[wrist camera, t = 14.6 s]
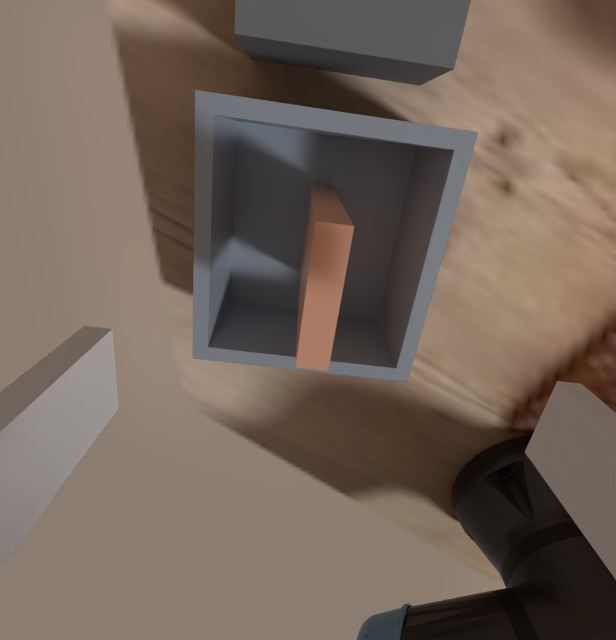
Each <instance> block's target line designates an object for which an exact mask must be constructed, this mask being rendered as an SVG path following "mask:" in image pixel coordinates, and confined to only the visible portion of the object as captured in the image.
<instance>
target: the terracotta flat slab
mask: <svg viewBox="0 0 616 640" xmlns="http://www.w3.org/2000/svg"><path fill="white" fill-rule="evenodd" d="M353 231H354V225H353V223H352V221H351V219H350V218H349V216H348V214H347V212H346V210H345V209H344V207H343V205H342V203H341V202H340V200H339V198H338V196H337V195H336V193H335V191H334V189H333V187H330V186H323V185H315V184H311V190H310V198H309V206H308V214H307V221H306V229H305V237H304V245H303V252H302V260H301V268H300V282H299V303H298V324H297V344H296V365H295V367H296V368H305V369H314V370H323V371H328V370H329V364H330V359H331V353H332V347H333V342H334V336H335V331H336V325H337V320H338V314H339V309H340V303H341V298H342V292H343V286H344V281H345V275H346V270H347V264H348V259H349V253H350V248H351V242H352V237H353Z"/></svg>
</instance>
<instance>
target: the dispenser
mask: <svg viewBox="0 0 616 640" xmlns="http://www.w3.org/2000/svg"><path fill="white" fill-rule="evenodd" d="M470 1H471V0H235V23H234V34H235V36H236V37H237V39H238V40H239V42H240V43H241V45H242V46H243V48H244V49H245V51H246V52H247V54H248V55H249V57H250V58H251V59H254V60H261V61H267V62H274V63H280V64H286V65H293V66H299V67H306V68H312V69H318V70H325V71H331V72H337V73H344V74H350V75H357V76H363V77H369V78H376V79H382V80H389V81H395V82H401V83H408V84H414V85H422V84H424V83H426V82H428V81H430V80H432V79H434V78H436V77H438V76H440V75H442V74H444V73H446V72H448V71H450V70H452V69H454V66H455V62H456V58H457V54H458V50H459V46H460V42H461V38H462V34H463V30H464V26H465V22H466V18H467V13H468V9H469V5H470Z"/></svg>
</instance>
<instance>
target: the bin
mask: <svg viewBox="0 0 616 640" xmlns="http://www.w3.org/2000/svg"><path fill="white" fill-rule="evenodd" d="M477 134H478V132H472V131H466V130H459V129H452V128H446V127H439V126H432V125H426V124H419V123H412V122H406V121H399V120H392V119H386V118H379V117H373V116H366V115H359V114H353V113H346V112H339V111H333V110H326V109H319V108H313V107H306V106H299V105H293V104H286V103H280V102H273V101H266V100H260V99H253V98H246V97H240V96H233V95H226V94H220V93H213V92H207V91H200V90H195V151H194V263H193V358H194V359H203V360H212V361H221V362H230V363H239V364H248V365H257V366H266V367H276V368H285V369H294V370H303V371H312V372H321V373H330V374H339V375H348V376H357V377H366V378H375V379H384V380H393V381H402V382H407V381H408V377H409V374H410V370H411V367H412V363H413V359H414V356H415V352H416V349H417V345H418V342H419V338H420V335H421V331H422V328H423V324H424V321H425V317H426V314H427V310H428V307H429V303H430V300H431V296H432V293H433V289H434V286H435V282H436V278H437V275H438V271H439V268H440V264H441V261H442V257H443V254H444V250H445V247H446V243H447V240H448V236H449V233H450V229H451V226H452V222H453V219H454V215H455V212H456V208H457V204H458V201H459V197H460V194H461V190H462V187H463V183H464V180H465V176H466V173H467V169H468V166H469V162H470V159H471V155H472V152H473V148H474V145H475V141H476V138H477ZM311 184H315V185H323V186H330V187H333V189H334V191H335V193H336V195H337V196H338V198H339V200H340V202H341V203H342V205H343V207H344V209H345V210H346V212H347V214H348V216H349V218H350V219H351V221H352V223H353V225H354V231H353V237H352V242H351V248H350V253H349V259H348V264H347V270H346V275H345V281H344V286H343V292H342V298H341V303H340V309H339V314H338V320H337V325H336V331H335V336H334V342H333V347H332V353H331V359H330V364H329V370H328V371H323V370H314V369H305V368H296V367H295V365H296V344H297V324H298V303H299V282H300V268H301V260H302V252H303V245H304V237H305V229H306V221H307V214H308V206H309V198H310V190H311Z"/></svg>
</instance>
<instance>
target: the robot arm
mask: <svg viewBox="0 0 616 640" xmlns="http://www.w3.org/2000/svg"><path fill="white" fill-rule="evenodd" d="M112 334H113V333H112V329H106V328H98V327H90V326H84V327H83V328H81V329H80V330H79V331H78V332H76V333H75V334H74V335H72V336H71V337H70V338H69V339H67V340H66V341H65V342H64V343H62V344H61V345H60V346H59V347H57V348H56V349H55V350H53V351H52V352H51V353H50V354H48V356H46V357H45V358H43V359H42V360H41V361H39V362H38V363H37V364H36V365H35V366H33V367H32V368H31V369H29V370H28V371H27V372H26V373H24V374H23V375H22V376H21V377H19V378H18V379H17V380H16V381H14V382H13V383H12V384H10V385H9V386H8V387H7V388H5V389H4V390H3V391H2V392H0V570H1V569H2V567H3V566H4V565H5V563H6V562H7V560H8V559H9V558H10V556H11V555H12V554H13V552H14V551H15V550H16V548H17V547H18V545H19V544H20V543H21V541H22V540H23V539H24V537H25V536H26V535H27V533H28V532H29V530H30V529H31V528H32V526H33V525H34V524H35V522H36V521H37V520H38V518H39V516H40V515H41V514H42V513H43V511H44V510H45V508H46V507H47V506H48V504H49V503H50V502H51V500H52V499H53V498H54V496H55V495H56V494H57V492H58V491H59V489H60V488H61V487H62V485H63V484H64V483H65V481H66V480H67V478H68V477H69V476H70V474H71V473H72V472H73V470H74V469H75V468H76V466H77V465H78V463H79V462H80V461H81V459H82V458H83V457H84V455H85V454H86V452H87V451H88V450H89V448H90V447H91V445H92V444H93V443H94V441H95V440H96V439H97V437H98V436H99V435H100V433H101V432H102V431H103V429H104V428H105V426H106V425H107V424H108V422H109V421H110V420H111V418H112V417H113V415H114V414H115V413H116V411H117V410H118V396H117V383H116V371H115V359H114V346H113V335H112ZM452 503H453V507H454V509H455V512H456V514H457V517H458V519H459V522H460V524H461V526H462V528H463V529H464V531H465V532H466V533H467V535H468V536H469V537H470V538H471V539H472V540H473V541H474V542H475V543H476V544H477V545H478V547H479V548H480V549H481V551H482V552H483V553H484V554H485V556H486V557H487V558H488V559H489V561H490V562H491V563H492V564H493V566H494V567H495V568H496V569H497V570H498V572H499V573H500V575H501V577H502V579H503V581H504V583H505V586H506V588H505V589H500V590H495V591H489V592H483V593H478V594H473V595H468V596H463V597H458V598H453V599H448V600H443V601H438V602H433V603H428V604H423V605H417V606H412V607H411V605H410V604H405V605H404V606H403V607H402V608H400V609H395V610H392V611H388V612H384V613H380V614H376V615H373V616H371V617H370V618H368V619H367V620H366V621H365V622H364V623H363V625H362V627H361V629H360V631H359V634H358V637H357V640H616V413H615V412H614V411H612V410H611V409H610V408H609V407H608V406H607V405H605V404H604V403H603V402H602V401H601V400H600V399H598V398H597V397H596V396H595V395H594V394H593V393H591V392H590V391H589V390H588V389H587V388H586V387H585V386H583V385H582V384H577V383H569V382H560V381H557V383H556V385H555V387H554V389H553V392H552V394H551V396H550V398H549V400H548V402H547V405H546V407H545V409H544V411H543V413H542V415H541V418H540V420H539V422H538V424H537V426H536V428H535V431H534V433H533V435H532V437H529V438H521V439H515V440H511V441H507V442H504V443H501V444H499V445H496V446H494V447H492V448H490V449H488V450H486V451H484V452H483V453H481V454H479V455H478V456H477V457H475V458H474V459H473V460H472V461H470V462H469V463H468V464H467V465H466V466H465V468H464V469H463V470H462V471H461V473H460V474H459V476H458V477H457V479H456V481H455V484H454V486H453V490H452Z"/></svg>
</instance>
